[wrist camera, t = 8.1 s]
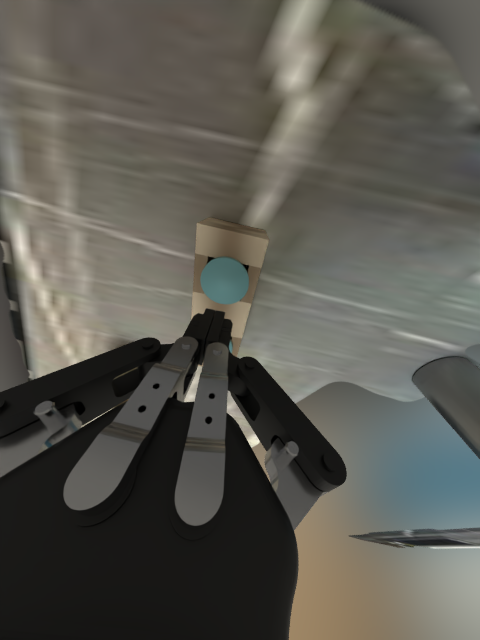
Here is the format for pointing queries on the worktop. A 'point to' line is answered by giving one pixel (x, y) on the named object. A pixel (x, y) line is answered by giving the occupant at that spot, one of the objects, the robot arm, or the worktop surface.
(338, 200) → the worktop surface
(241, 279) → the teal peg
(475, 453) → the robot arm
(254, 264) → the oak block
